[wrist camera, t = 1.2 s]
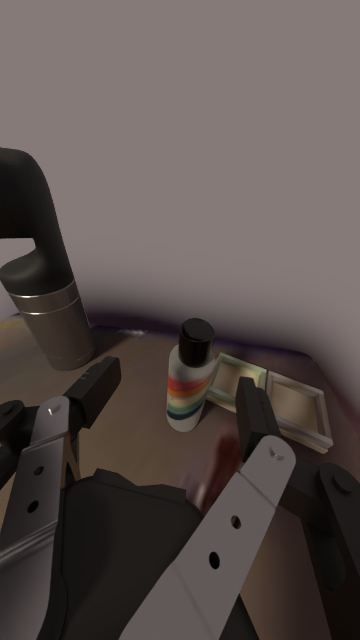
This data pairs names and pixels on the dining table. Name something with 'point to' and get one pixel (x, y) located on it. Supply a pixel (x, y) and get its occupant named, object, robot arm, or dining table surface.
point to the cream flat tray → (276, 401)
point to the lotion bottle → (190, 374)
